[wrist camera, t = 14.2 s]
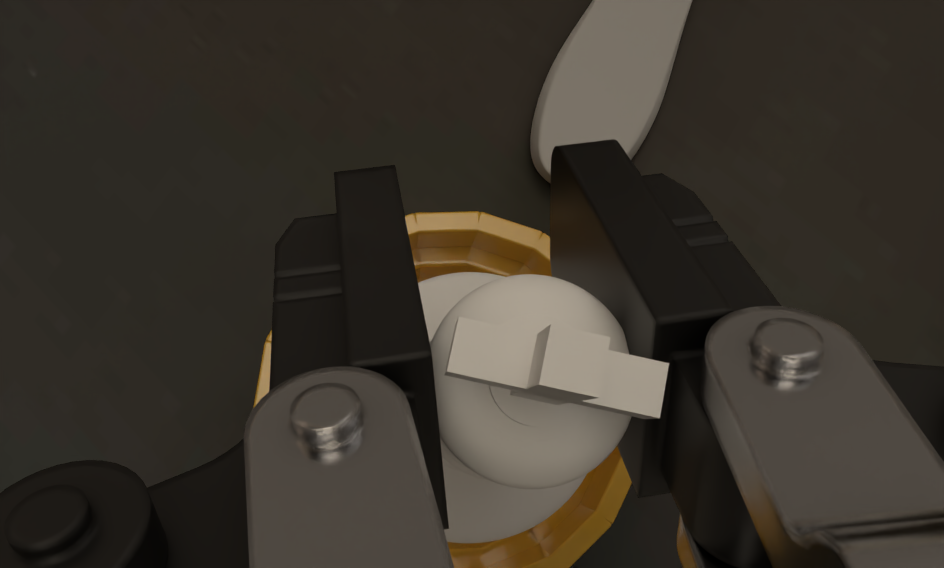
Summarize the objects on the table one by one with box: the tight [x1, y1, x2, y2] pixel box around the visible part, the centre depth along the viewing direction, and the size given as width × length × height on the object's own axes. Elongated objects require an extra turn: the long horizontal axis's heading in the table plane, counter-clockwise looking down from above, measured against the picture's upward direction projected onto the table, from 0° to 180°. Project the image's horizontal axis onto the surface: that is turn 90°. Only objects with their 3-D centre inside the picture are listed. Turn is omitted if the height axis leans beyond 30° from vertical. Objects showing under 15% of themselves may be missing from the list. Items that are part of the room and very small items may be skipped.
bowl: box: [253, 211, 632, 568], centre depth 22 cm, size 9×9×4 cm
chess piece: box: [418, 272, 669, 543], centre depth 11 cm, size 5×5×10 cm
